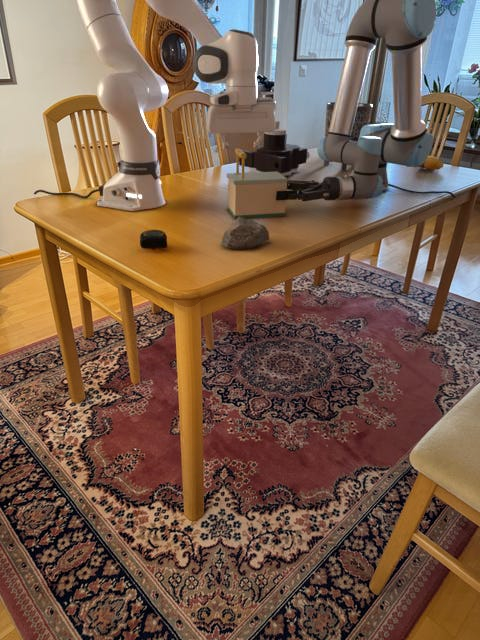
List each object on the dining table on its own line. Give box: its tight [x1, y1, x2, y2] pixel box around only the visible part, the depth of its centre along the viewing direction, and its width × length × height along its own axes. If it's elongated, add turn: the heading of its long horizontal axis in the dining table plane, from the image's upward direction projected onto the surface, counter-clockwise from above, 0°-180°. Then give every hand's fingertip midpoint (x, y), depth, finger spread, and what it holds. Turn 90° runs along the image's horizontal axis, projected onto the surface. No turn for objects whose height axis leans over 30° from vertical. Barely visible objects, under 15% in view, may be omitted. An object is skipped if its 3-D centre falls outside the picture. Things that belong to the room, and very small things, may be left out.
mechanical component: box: [239, 120, 311, 177], centre depth 191 cm, size 22×21×30 cm
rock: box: [221, 217, 270, 250], centre depth 119 cm, size 13×9×6 cm, turn 131°
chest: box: [227, 178, 288, 220], centre depth 144 cm, size 16×10×10 cm, turn 104°
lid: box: [226, 147, 288, 185], centre depth 139 cm, size 17×10×9 cm, turn 103°
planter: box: [323, 101, 374, 172], centre depth 204 cm, size 20×20×26 cm
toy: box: [418, 155, 445, 172], centre depth 208 cm, size 11×6×15 cm
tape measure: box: [139, 229, 168, 250], centre depth 117 cm, size 7×7×4 cm
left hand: (241, 148), depth 135 cm, fingers open, 8 cm apart
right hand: (271, 191), depth 144 cm, fingers closed on chest, 10 cm apart
